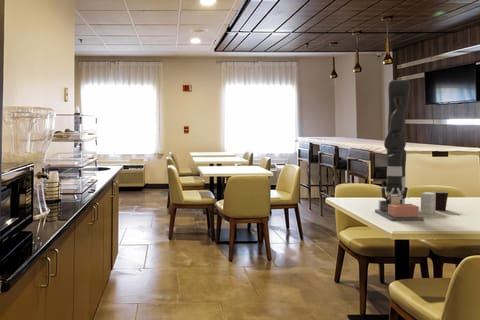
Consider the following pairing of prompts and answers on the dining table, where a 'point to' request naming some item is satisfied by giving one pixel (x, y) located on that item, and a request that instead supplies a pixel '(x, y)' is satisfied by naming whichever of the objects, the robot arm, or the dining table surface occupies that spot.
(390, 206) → the sliding jaw
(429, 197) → the small box
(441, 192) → the coffee mug
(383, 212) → the vise
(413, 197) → the dining table surface
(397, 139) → the robot arm
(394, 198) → the maple block
